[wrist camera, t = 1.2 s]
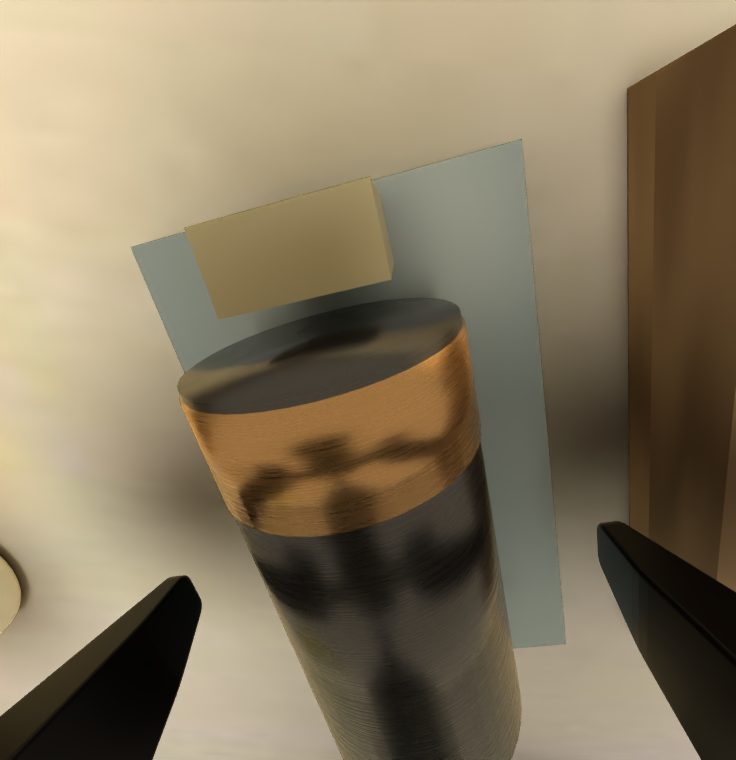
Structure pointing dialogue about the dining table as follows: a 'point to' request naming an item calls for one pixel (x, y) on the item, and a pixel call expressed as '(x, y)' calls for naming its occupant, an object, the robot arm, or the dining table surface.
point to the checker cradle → (397, 281)
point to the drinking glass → (8, 595)
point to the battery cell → (370, 521)
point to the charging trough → (684, 306)
